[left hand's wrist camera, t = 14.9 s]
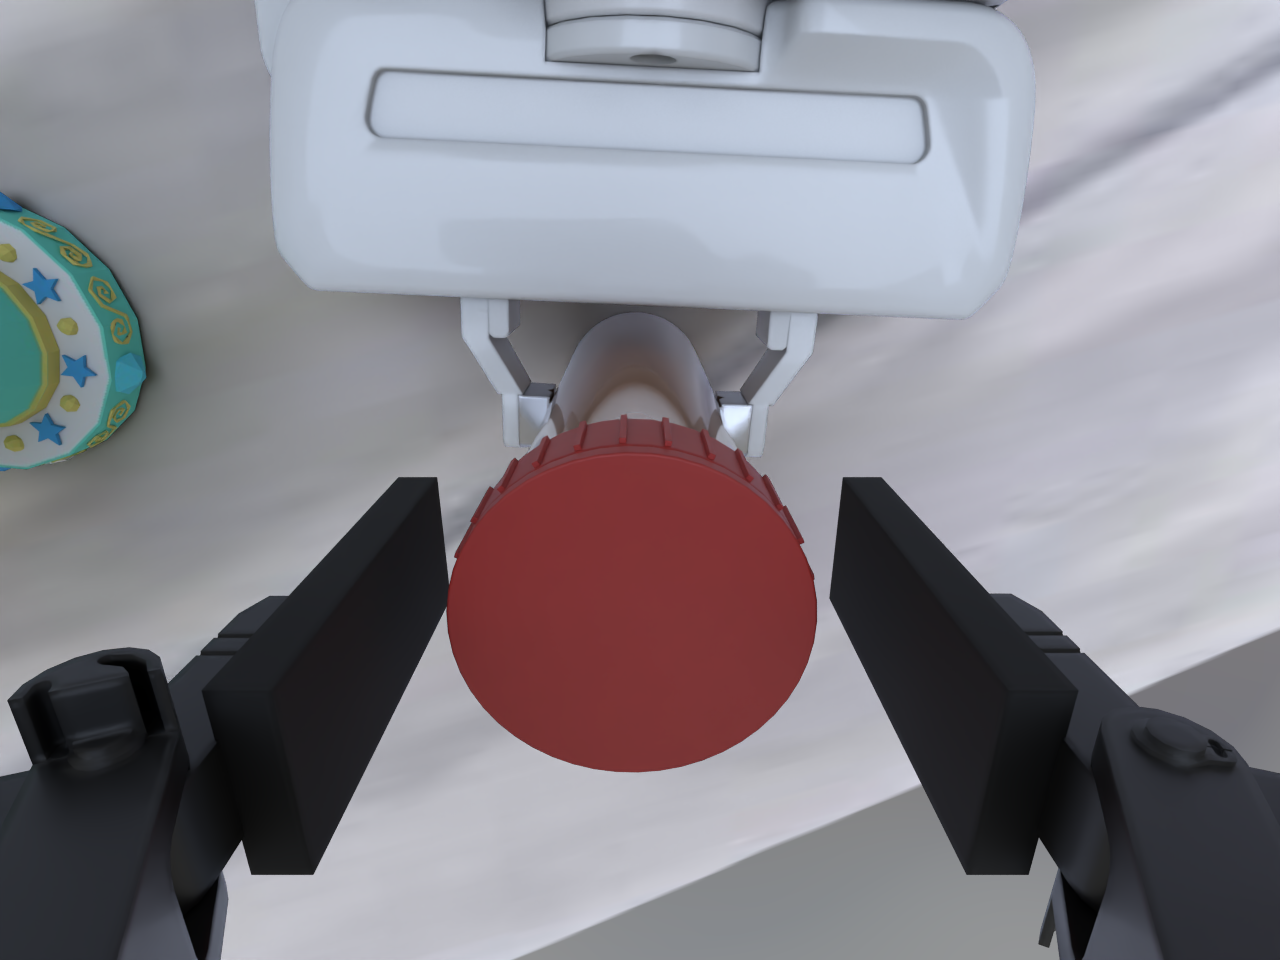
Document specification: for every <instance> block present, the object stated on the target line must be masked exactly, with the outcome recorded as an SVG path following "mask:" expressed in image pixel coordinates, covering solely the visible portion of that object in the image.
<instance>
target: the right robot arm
mask: <svg viewBox="0 0 1280 960" xmlns="http://www.w3.org/2000/svg"><path fill="white" fill-rule="evenodd" d="M1006 1H1007V0H254V3H255V11H256V18H257V26H258V34H259V42H260V49H261V53H262V57H263V60H264V63H265V65H266V68H267V70H268V72H269V74H270V76H271V92H270V128H269V141H270V183H271V201H272V216H273V227H274V235H275V241H276V246H277V249H278V251H279V253H280V255H281V257H282V258H283V259H284V260H285V261H286V263H287V264H288V265H289V266H290V267H291V269H292V270H293V271H294V272H295V273H296V275H297V276H298V277H299V278H300V279H301V280H302V281H303V282H304V283H305V285H306V286H308V287H309V288H311V289H313V290H318V291H337V292H359V293H380V294H402V295H424V296H446V297H460V306H461V328H462V338H463V339H464V341H465V343H466V344H467V346H468V347H469V349H470V351H471V352H472V354H473V355H474V357H475V359H476V360H477V362H478V363H479V365H480V367H481V368H482V370H483V371H484V373H485V375H486V376H487V378H488V379H489V381H490V382H491V384H492V386H493V387H494V389H495V390H496V392H497V394H502V419H503V441H504V445H505V446H508V447H518V448H520V447H530V446H531V444H532V442H533V439H534V437H535V435H536V433H537V431H538V429H539V426H540V424H541V422H542V420H543V418H544V416H545V414H546V411H547V409H548V407H549V405H550V403H551V401H552V399H553V396H554V394H555V392H556V384H547V383H532V382H531V380H530V378H529V376H528V374H527V373H526V371H525V369H524V367H523V365H522V364H521V362H520V360H519V358H518V356H517V355H516V353H515V351H514V349H513V347H512V346H511V344H510V342H509V340H508V338H507V336H508V335H509V334H510V333H511V332H512V331H514V330H515V329H516V328H517V327H518V326H519V325H520V300H534V301H556V302H578V303H600V304H622V305H644V306H665V307H687V308H709V309H731V310H753V311H758V316H757V328H756V336H757V337H758V338H759V339H760V340H761V341H762V342H763V343H764V344H765V345H766V346H767V347H768V349H767V351H766V352H765V354H764V355H763V357H762V358H761V360H760V361H759V363H758V364H757V365H756V367H755V368H754V370H753V371H752V373H751V374H750V376H749V377H748V379H747V380H746V382H745V383H744V385H743V386H742V388H741V389H740V391H741V392H739V391H716V392H715V397H716V399H717V401H718V404H719V406H720V408H721V411H722V413H723V415H724V418H725V420H726V422H727V424H728V427H729V429H730V431H731V434H732V436H733V438H734V441H735V443H736V445H737V447H738V449H740V450H741V451H742V452H743V455H744V457H761V456H762V454H763V450H764V444H765V435H766V426H767V418H768V409H769V406H773V405H774V404H775V402H776V401H777V400H778V398H779V397H780V396H781V394H782V393H783V392H784V390H785V389H786V388H787V386H788V385H789V384H790V382H791V381H792V380H793V379H794V377H795V376H796V375H797V373H798V372H799V371H800V369H801V368H802V367H803V365H804V364H805V363H806V361H807V360H808V359H809V357H810V356H811V355H812V353H813V348H814V341H815V333H816V326H817V319H818V313H819V314H841V315H863V316H885V317H907V318H929V319H952V320H963V319H967V318H969V317H971V316H972V315H973V314H975V313H976V312H977V311H978V310H979V309H980V308H981V307H982V306H983V305H984V304H985V303H986V302H987V301H988V300H989V299H990V298H991V297H992V296H993V295H994V294H995V293H996V292H997V291H998V290H999V288H1000V287H1001V286H1002V284H1003V283H1004V281H1005V279H1006V276H1007V273H1008V270H1009V267H1010V264H1011V260H1012V256H1013V251H1014V247H1015V242H1016V238H1017V233H1018V228H1019V223H1020V217H1021V212H1022V207H1023V201H1024V194H1025V188H1026V182H1027V174H1028V167H1029V160H1030V152H1031V143H1032V134H1033V124H1034V113H1035V93H1036V86H1035V72H1034V66H1033V60H1032V56H1031V52H1030V49H1029V47H1028V44H1027V41H1026V40H1025V38H1024V36H1023V34H1022V33H1021V31H1020V29H1019V28H1018V27H1017V26H1016V25H1015V24H1014V22H1013V21H1011V20H1010V19H1009V18H1008V17H1007V16H1005V15H1004V14H1002V13H1001V12H999V11H997V10H995V9H996V8H997V7H998V6H1000V5H1001V4H1003V3H1004V2H1006Z"/></svg>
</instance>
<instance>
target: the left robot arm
mask: <svg viewBox="0 0 1280 960" xmlns="http://www.w3.org/2000/svg"><path fill="white" fill-rule="evenodd" d="M448 588H449V580H448V571H447V562H446V553H445V544H444V535H443V526H442V517H441V508H440V499H439V490H438V481H437V477H398V479H397V480H396V481H395V482H394V483H393V484H392V485H391V486H390V487H389V488H388V489H387V490H386V492H385V493H384V494H383V495H382V496H381V497H380V498H379V499H378V500H377V501H376V502H375V503H374V504H373V506H372V507H371V508H370V509H369V510H368V511H367V512H366V513H365V514H364V515H363V516H362V517H361V519H360V520H359V521H358V522H357V523H356V524H355V525H354V526H353V527H352V528H351V529H350V530H349V531H348V533H347V534H346V535H345V536H344V537H343V538H342V539H341V540H340V541H339V542H338V543H337V544H336V545H335V547H334V548H333V549H332V550H331V551H330V552H329V553H328V554H327V555H326V556H325V557H324V558H323V560H322V561H321V562H320V563H319V564H318V565H317V566H316V567H315V568H314V569H313V570H312V571H311V572H310V574H309V575H308V576H307V577H306V578H305V579H304V580H303V581H302V582H301V583H300V584H299V585H298V587H297V588H296V589H295V590H294V591H293V592H292V593H291V594H290V595H289V596H269V597H267V598H265V599H263V600H262V601H260V602H258V603H256V604H255V605H253V606H251V607H249V608H248V609H246V610H244V611H242V612H241V613H239V614H238V615H237V616H236V617H235V618H234V619H233V620H232V621H231V622H230V623H229V624H228V625H227V626H226V627H225V628H224V629H223V630H222V631H221V632H220V633H219V634H218V638H213V639H212V640H211V641H210V642H209V643H208V644H207V645H206V646H205V647H204V648H203V649H202V650H201V654H200V656H195V657H194V658H193V659H192V660H191V661H190V662H189V663H188V664H187V665H186V666H185V667H184V668H183V669H182V670H181V671H180V672H179V673H178V674H177V675H176V676H175V677H174V678H173V679H172V680H171V681H170V682H169V683H167V680H166V676H165V673H164V669H163V666H162V663H161V659H160V657H159V656H158V655H156V654H154V653H153V652H151V651H150V650H147V649H139V648H130V647H128V648H119V649H110V650H102V651H99V652H95V653H91V654H87V655H84V656H80V657H76V658H73V659H71V660H69V661H66V662H64V663H62V664H59V665H57V666H54V667H52V668H50V669H47V670H46V671H44V672H42V673H41V674H39V675H37V676H36V677H34V678H33V679H31V680H29V681H28V682H26V683H25V684H23V685H22V686H21V687H20V688H19V689H18V690H17V691H16V692H15V693H14V694H13V695H12V696H11V697H10V698H9V699H8V700H7V701H8V703H9V706H10V708H11V711H12V713H13V716H14V719H15V721H16V724H17V726H18V729H19V731H20V734H21V736H22V739H23V741H24V744H25V746H26V749H27V751H28V754H29V757H30V759H31V762H32V764H33V765H32V767H31V769H30V771H25V772H20V773H16V774H11V775H6V776H1V777H0V960H221V952H222V945H223V937H224V929H225V922H226V914H227V906H228V893H227V887H226V882H225V878H224V875H223V872H222V870H223V868H224V867H225V865H226V864H227V862H228V861H229V859H230V857H231V856H232V854H233V853H234V851H235V850H236V848H237V846H238V845H239V843H240V842H241V840H242V842H243V846H244V849H245V853H246V857H247V860H248V864H249V868H250V871H251V875H313V874H314V872H315V870H316V868H317V866H318V864H319V862H320V860H321V858H322V856H323V854H324V852H325V850H326V848H327V846H328V844H329V842H330V840H331V838H332V836H333V834H334V832H335V830H336V828H337V826H338V824H339V822H340V820H341V818H342V816H343V814H344V812H345V810H346V808H347V806H348V804H349V802H350V800H351V798H352V796H353V794H354V792H355V790H356V788H357V786H358V784H359V782H360V780H361V778H362V776H363V774H364V772H365V770H366V768H367V766H368V764H369V762H370V760H371V758H372V756H373V754H374V752H375V750H376V748H377V746H378V744H379V741H380V739H381V737H382V735H383V733H384V731H385V729H386V727H387V725H388V723H389V721H390V719H391V717H392V715H393V713H394V711H395V709H396V707H397V705H398V703H399V701H400V699H401V697H402V695H403V693H404V691H405V689H406V687H407V685H408V683H409V681H410V679H411V677H412V675H413V673H414V671H415V669H416V667H417V665H418V663H419V661H420V659H421V657H422V655H423V653H424V651H425V649H426V647H427V645H428V643H429V641H430V639H431V637H432V635H433V633H434V631H435V629H436V627H437V625H438V623H439V621H440V619H441V617H442V615H443V613H444V611H445V609H446V607H447V598H448ZM830 600H831V602H832V605H833V607H834V609H835V611H836V613H837V615H838V617H839V619H840V621H841V623H842V625H843V627H844V629H845V631H846V633H847V635H848V637H849V639H850V641H851V643H852V645H853V647H854V649H855V651H856V653H857V655H858V657H859V659H860V661H861V663H862V665H863V667H864V669H865V671H866V673H867V675H868V677H869V679H870V681H871V683H872V685H873V687H874V689H875V691H876V693H877V695H878V697H879V699H880V701H881V703H882V705H883V707H884V709H885V711H886V713H887V715H888V717H889V719H890V721H891V723H892V725H893V727H894V729H895V731H896V733H897V735H898V737H899V739H900V741H901V744H902V746H903V748H904V750H905V752H906V754H907V756H908V758H909V760H910V762H911V764H912V766H913V768H914V770H915V772H916V774H917V776H918V778H919V780H920V782H921V784H922V786H923V788H924V790H925V792H926V794H927V796H928V798H929V800H930V802H931V804H932V806H933V808H934V810H935V812H936V814H937V816H938V818H939V820H940V822H941V824H942V826H943V828H944V830H945V832H946V834H947V836H948V838H949V840H950V842H951V844H952V846H953V848H954V850H955V852H956V854H957V856H958V858H959V860H960V862H961V864H962V866H963V868H964V870H965V872H966V874H967V875H1029V871H1030V868H1031V864H1032V860H1033V857H1034V853H1035V849H1036V846H1037V842H1038V838H1040V840H1041V841H1042V843H1043V844H1044V846H1045V847H1046V849H1047V851H1048V852H1049V854H1050V855H1051V857H1052V858H1053V860H1054V861H1055V863H1056V864H1057V866H1058V872H1057V875H1056V878H1055V882H1054V885H1053V889H1052V892H1051V896H1050V899H1049V903H1048V906H1047V909H1046V913H1045V916H1044V920H1043V923H1042V926H1041V931H1040V937H1039V945H1042V946H1045V947H1048V948H1049V946H1050V942H1051V939H1052V936H1053V933H1054V931H1056V935H1057V942H1058V950H1059V957H1060V960H1280V773H1275V772H1270V771H1266V770H1261V769H1256V768H1251V767H1249V766H1248V764H1247V763H1246V761H1245V760H1244V759H1243V758H1242V757H1241V755H1240V754H1239V753H1238V752H1237V750H1236V749H1235V748H1234V747H1233V746H1232V745H1230V744H1229V743H1228V742H1226V741H1225V740H1223V739H1222V738H1221V737H1219V736H1218V735H1217V734H1215V733H1214V732H1212V731H1211V730H1209V729H1207V728H1205V727H1203V726H1201V725H1199V724H1197V723H1195V722H1193V721H1191V720H1189V719H1186V718H1184V717H1181V716H1178V715H1175V714H1171V713H1168V712H1165V711H1162V710H1159V709H1152V708H1144V707H1139V706H1138V705H1137V704H1136V703H1135V702H1134V701H1133V700H1132V699H1131V698H1130V697H1129V696H1128V695H1127V694H1126V693H1125V692H1124V691H1123V690H1122V689H1121V688H1120V687H1119V686H1118V685H1117V684H1116V683H1114V682H1113V681H1112V680H1111V679H1110V678H1109V677H1108V676H1107V675H1106V674H1105V673H1104V672H1103V671H1102V670H1101V669H1100V668H1099V667H1098V666H1097V665H1096V664H1095V663H1094V662H1093V661H1092V660H1091V659H1090V658H1089V657H1088V656H1087V655H1086V654H1085V653H1080V648H1079V647H1078V646H1077V645H1076V644H1075V643H1074V642H1073V641H1072V640H1071V639H1070V638H1069V637H1068V636H1063V634H1062V632H1063V631H1062V630H1061V629H1059V628H1058V627H1057V626H1056V625H1055V624H1054V623H1053V622H1052V621H1051V620H1050V619H1049V618H1048V617H1047V616H1046V615H1045V614H1044V613H1043V612H1042V611H1041V610H1039V609H1037V608H1035V607H1034V606H1032V605H1030V604H1028V603H1027V602H1025V601H1023V600H1021V599H1019V598H1018V597H1016V596H1014V595H1012V594H989V593H988V592H987V591H986V590H985V589H984V588H983V587H982V585H981V584H980V583H979V582H978V581H977V580H976V579H975V578H974V577H973V576H972V575H971V574H970V572H969V571H968V570H967V569H966V568H965V567H964V566H963V565H962V564H961V563H960V562H959V561H958V560H957V558H956V557H955V556H954V555H953V554H952V553H951V552H950V551H949V550H948V549H947V548H946V547H945V545H944V544H943V543H942V542H941V541H940V540H939V539H938V538H937V537H936V536H935V535H934V534H933V533H932V531H931V530H930V529H929V528H928V527H927V526H926V525H925V524H924V523H923V522H922V521H921V520H920V519H919V517H918V516H917V515H916V514H915V513H914V512H913V511H912V510H911V509H910V508H909V507H908V506H907V504H906V503H905V502H904V501H903V500H902V499H901V498H900V497H899V496H898V495H897V494H896V493H895V492H894V490H893V489H892V488H891V487H890V486H889V485H888V484H887V483H886V482H885V481H884V480H883V479H882V477H843V481H842V490H841V499H840V508H839V517H838V526H837V535H836V544H835V553H834V562H833V571H832V580H831V589H830Z"/></svg>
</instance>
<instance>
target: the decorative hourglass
mask: <svg viewBox="0 0 1280 960" xmlns="http://www.w3.org/2000/svg"><path fill="white" fill-rule="evenodd" d="M145 370H146V366H145V360H144V355H143V349H142V343H141V337H140V331H139V326H138V320H137V318H136V316H135V314H134V312H133V311H132V309H131V307H130V305H129V303H128V302H127V300H126V298H125V296H124V295H123V293H122V291H121V289H120V288H119V286H118V284H117V282H116V280H115V279H114V277H113V275H112V273H111V272H110V270H109V269H108V268H107V267H106V266H105V265H104V264H103V263H102V262H101V261H100V260H99V259H98V258H97V257H95V256H94V255H93V254H92V253H91V252H90V251H89V250H88V249H87V248H86V247H85V246H84V245H83V244H82V243H80V242H79V241H78V240H77V239H76V238H75V237H74V236H73V235H72V234H71V233H70V232H69V231H68V230H66V229H65V228H64V227H62V226H60V225H58V224H56V223H54V222H52V221H50V220H47V219H45V218H43V217H41V216H39V215H37V214H35V213H33V212H31V211H28V210H26V209H24V208H22V207H21V206H20V205H18V204H17V203H15V202H14V201H12V200H11V199H10V198H8V197H7V196H5V195H4V194H3V193H1V192H0V471H6V470H8V469H10V468H17V469H29V468H32V467H36V466H39V465H44V464H53V463H58V462H62V461H67V460H69V459H71V458H73V457H74V455H77V454H79V453H81V452H84V451H86V450H87V448H89V447H90V448H92V447H94V446H95V445H97V444H99V443H101V442H103V441H105V440H107V439H108V438H109V437H110V436H111V435H112V434H113V433H114V432H115V430H116V429H117V428H118V427H119V426H120V425H121V424H122V423H123V422H124V421H125V420H126V419H127V418H128V417H129V416H130V415H131V414H132V413H133V412H134V411H135V407H136V404H137V400H138V396H139V392H140V388H141V385H142V382H143V381H144V380H145V379H146V372H145ZM68 457H69V458H68ZM65 458H66V459H65ZM63 459H64V460H63Z"/></svg>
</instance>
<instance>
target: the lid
mask: <svg viewBox="0 0 1280 960" xmlns="http://www.w3.org/2000/svg"><path fill="white" fill-rule="evenodd" d="M471 522H472V523H471V525H470V527H469V529H468V530H467V532H466V534H465V536H464V538H463V540H462V541H461V543H460V545H459V547H458V549H457V551H456V553H455V556H454V557H455V558H457V560H456V563H455V565H454V568H453V571H452V576H451V580H450V584H449V588H448V598H447V611H446V612H447V625H448V634H449V639H450V643H451V647H452V652H453V655H454V657H455V660H456V663H457V665H458V668H459V670H460V673H461V675H462V676H463V678H464V680H465V682H466V684H467V685H468V687H469V689H470V691H471V692H472V693H473V695H474V696H475V697H476V699H477V700H478V701H479V703H480V704H481V705H482V707H483V708H484V709H485V710H486V711H487V712H488V713H489V714H490V715H491V716H492V717H493V718H494V719H495V720H496V721H497V722H498V723H499V724H500V725H501V726H503V727H504V728H505V729H506V730H508V731H509V732H510V733H511V734H513V735H514V736H515V737H517V738H518V739H520V740H522V741H523V742H525V743H526V744H528V745H530V746H531V747H533V748H535V749H537V750H539V751H541V752H543V753H545V754H547V755H550V756H552V757H554V758H557V759H560V760H563V761H566V762H569V763H571V764H575V765H579V766H583V767H588V768H592V769H598V770H606V771H614V772H649V771H661V770H666V769H671V768H677V767H682V766H685V765H689V764H692V763H696V762H699V761H702V760H705V759H707V758H710V757H712V756H714V755H717V754H719V753H722V752H724V751H725V750H727V749H729V748H731V747H733V746H734V745H736V744H738V743H740V742H742V741H743V740H744V739H746V738H747V737H749V736H750V735H751V734H753V733H754V732H756V731H757V730H758V729H759V728H761V727H762V726H763V725H764V724H765V723H766V722H767V721H768V720H769V719H770V718H771V717H773V716H774V715H775V713H776V712H777V711H778V710H779V709H780V708H781V706H782V705H783V704H784V703H785V702H786V701H787V699H788V698H789V696H790V695H791V693H792V692H793V690H794V689H795V687H796V685H797V684H798V682H799V680H800V678H801V676H802V674H803V672H804V670H805V668H806V665H807V663H808V660H809V657H810V654H811V650H812V647H813V644H814V638H815V631H816V624H817V599H816V592H815V586H814V574H813V572H812V570H811V568H810V566H809V564H808V561H807V558H806V556H805V554H804V552H803V550H802V548H801V546H800V544H802V543H804V540H803V538H802V536H801V534H800V532H799V530H798V528H797V526H796V524H795V522H794V520H793V518H792V516H791V515H790V513H789V511H788V509H787V507H786V506H783V505H782V503H781V501H780V499H779V497H778V495H777V493H776V491H775V489H774V487H773V485H772V483H771V481H770V479H769V478H768V476H767V475H764V476H763V477H762V476H761V475H760V474H759V473H758V472H757V471H756V470H755V469H754V468H753V467H752V466H751V464H750V463H748V462H747V461H746V459H745V457H744V455H743V452H742V451H741V450H740V449H738V448H737V449H736V450H735V451H734V450H732V449H731V448H729V447H727V446H726V445H724V444H722V443H721V442H719V441H718V440H716V439H714V438H712V437H710V435H709V432H708V430H705V429H702V430H701V432H698V431H696V430H694V429H691V428H687V427H684V426H680V425H677V424H674V423H669V418H666V417H663V418H662V421H656V420H650V419H627V415H621V418H620V419H618V420H608V421H601V422H597V423H592V424H588V425H587V423H586V421H582V422H580V423H579V427H577V428H574V429H572V430H569V431H566V432H563V433H561V434H559V435H557V436H555V437H553V438H551V439H550V438H549V437H548V436H545V437H543V438H542V440H541V442H540V445H539V446H537V447H536V448H534V449H533V450H532V451H530V452H529V453H527V454H526V455H524V456H523V457H522V458H521V459H520V460H519V461H518V460H517V459H516V458H514V459H513V460H512V461H511V462H510V464H509V466H508V468H507V470H506V472H505V474H504V476H503V478H502V479H501V480H500V481H499V483H498V484H497V485H496V486H495V488H494V489H493V488H492V487H489V488H488V490H487V492H486V493H485V495H484V497H483V499H482V501H481V503H480V504H479V506H478V508H477V510H476V512H475V514H474V515H473V517H472V519H471Z"/></svg>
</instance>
